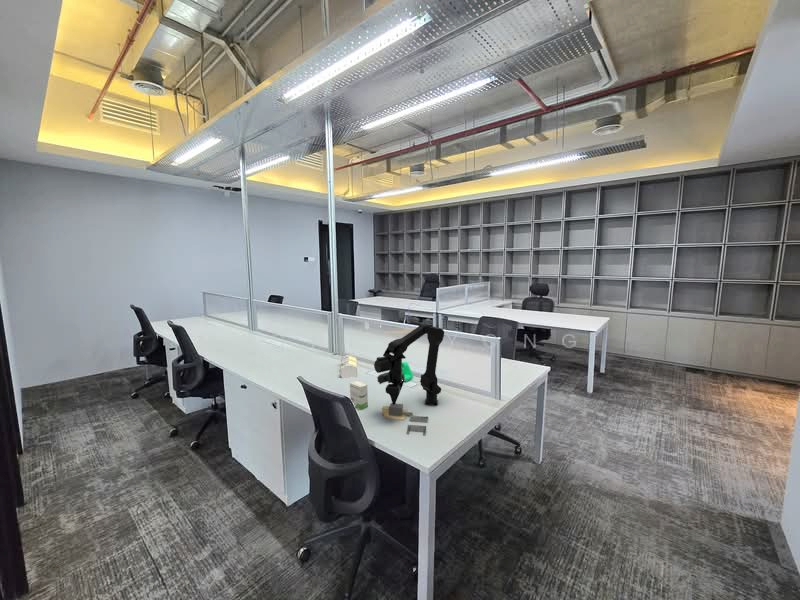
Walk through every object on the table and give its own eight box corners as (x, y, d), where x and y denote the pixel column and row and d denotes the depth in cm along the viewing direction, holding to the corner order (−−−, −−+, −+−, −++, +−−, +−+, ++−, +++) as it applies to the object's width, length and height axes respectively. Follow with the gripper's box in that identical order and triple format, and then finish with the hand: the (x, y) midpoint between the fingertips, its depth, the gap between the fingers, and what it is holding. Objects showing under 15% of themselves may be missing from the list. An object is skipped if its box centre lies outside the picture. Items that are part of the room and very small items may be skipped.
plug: (383, 410, 159) (383, 402, 159) (413, 412, 157) (413, 404, 156) (381, 414, 155) (381, 406, 154) (412, 417, 152) (412, 408, 152)
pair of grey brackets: (411, 416, 154) (411, 412, 153) (428, 418, 152) (428, 414, 152) (406, 433, 138) (406, 429, 138) (425, 435, 137) (425, 431, 137)
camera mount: (390, 378, 204) (390, 362, 203) (397, 375, 210) (397, 359, 209) (406, 383, 197) (406, 366, 196) (413, 379, 203) (413, 363, 202)
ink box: (368, 407, 164) (368, 384, 162) (360, 410, 160) (360, 387, 159) (357, 401, 170) (357, 380, 168) (349, 404, 166) (349, 382, 165)
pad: (387, 409, 162) (387, 408, 162) (407, 410, 160) (407, 409, 160) (383, 418, 152) (383, 417, 152) (404, 420, 150) (404, 419, 150)
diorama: (341, 366, 229) (341, 347, 227) (356, 365, 230) (356, 347, 229) (340, 378, 204) (340, 358, 203) (357, 377, 206) (356, 357, 204)
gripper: (383, 361, 164) (383, 391, 165) (374, 374, 145) (374, 407, 147) (405, 362, 162) (404, 393, 164) (399, 375, 144) (398, 409, 145)
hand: (395, 400), depth 155 cm, fingers open, 9 cm apart
